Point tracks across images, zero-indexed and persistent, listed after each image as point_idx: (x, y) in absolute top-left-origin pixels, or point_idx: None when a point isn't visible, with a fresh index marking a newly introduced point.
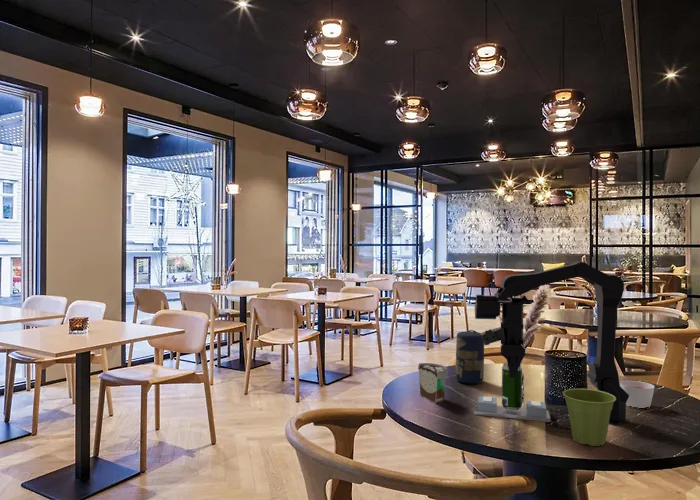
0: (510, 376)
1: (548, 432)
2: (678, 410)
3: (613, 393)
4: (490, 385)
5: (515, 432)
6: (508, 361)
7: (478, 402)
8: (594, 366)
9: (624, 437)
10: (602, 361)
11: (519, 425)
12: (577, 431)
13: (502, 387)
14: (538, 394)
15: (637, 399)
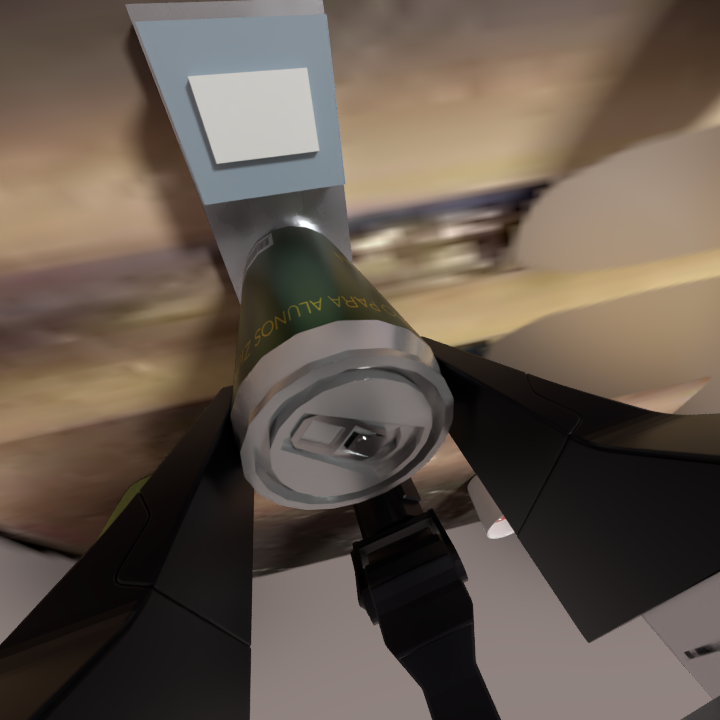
0: (216, 396)
1: (159, 417)
2: (469, 514)
3: (356, 576)
4: (712, 80)
5: (28, 330)
6: (62, 612)
7: (139, 30)
8: (405, 655)
9: (265, 519)
10: (421, 686)
11: (154, 324)
12: (106, 524)
13: (274, 261)
14: (561, 307)
15: (476, 502)
